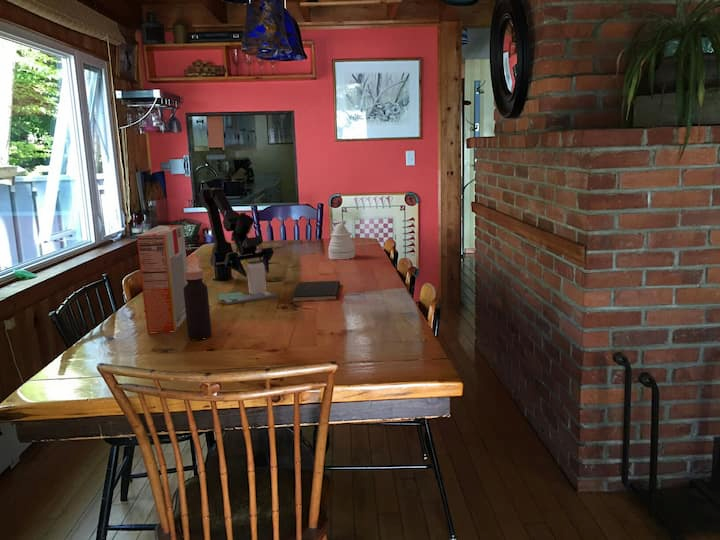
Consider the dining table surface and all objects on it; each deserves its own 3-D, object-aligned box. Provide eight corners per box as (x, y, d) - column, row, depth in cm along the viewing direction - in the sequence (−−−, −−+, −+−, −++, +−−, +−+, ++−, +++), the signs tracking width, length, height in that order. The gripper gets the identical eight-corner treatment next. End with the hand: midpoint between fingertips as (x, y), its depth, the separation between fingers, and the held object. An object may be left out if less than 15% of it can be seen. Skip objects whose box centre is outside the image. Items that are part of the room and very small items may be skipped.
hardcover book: (292, 302, 214) (291, 296, 214) (299, 287, 237) (299, 282, 236) (336, 301, 214) (336, 295, 213) (340, 286, 236) (339, 280, 236)
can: (269, 291, 230) (267, 260, 227) (260, 295, 224) (257, 264, 222) (255, 290, 233) (253, 260, 230) (245, 294, 227) (243, 263, 224)
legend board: (227, 304, 213) (227, 300, 213) (223, 300, 218) (223, 297, 218) (276, 297, 221) (275, 293, 221) (271, 293, 226) (270, 290, 226)
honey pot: (360, 256, 296) (358, 219, 292) (345, 260, 285) (343, 223, 281) (338, 254, 303) (336, 218, 299) (323, 258, 292) (321, 222, 288)
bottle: (190, 342, 173) (183, 274, 169) (186, 335, 179) (180, 270, 175) (213, 338, 175) (207, 271, 171) (209, 332, 182) (203, 267, 177)
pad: (217, 295, 227) (217, 294, 227) (241, 292, 229) (241, 292, 229) (219, 300, 218) (219, 300, 218) (244, 298, 221) (244, 297, 221)
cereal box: (168, 313, 205) (158, 225, 199) (191, 311, 205) (183, 224, 199) (147, 333, 183) (136, 236, 176) (174, 332, 183) (164, 234, 177)
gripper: (224, 232, 222) (239, 265, 215) (269, 226, 232) (285, 258, 226) (218, 250, 230) (232, 283, 223) (262, 244, 240) (277, 275, 234)
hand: (257, 274), depth 226 cm, fingers open, 9 cm apart
